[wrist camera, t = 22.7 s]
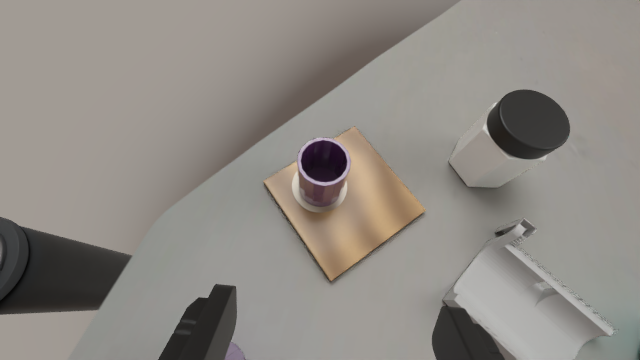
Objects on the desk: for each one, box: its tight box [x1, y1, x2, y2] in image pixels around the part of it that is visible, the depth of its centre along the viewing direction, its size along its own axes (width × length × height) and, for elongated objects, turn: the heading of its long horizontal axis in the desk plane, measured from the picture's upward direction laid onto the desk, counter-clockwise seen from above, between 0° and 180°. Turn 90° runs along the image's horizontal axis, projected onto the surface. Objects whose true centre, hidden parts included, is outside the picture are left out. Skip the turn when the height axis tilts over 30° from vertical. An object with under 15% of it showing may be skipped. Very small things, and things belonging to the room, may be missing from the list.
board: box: [263, 126, 426, 282], centre depth 41 cm, size 16×16×1 cm
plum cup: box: [297, 137, 351, 207], centre depth 37 cm, size 6×6×8 cm
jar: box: [449, 90, 570, 188], centre depth 39 cm, size 9×8×12 cm
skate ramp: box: [443, 218, 619, 360], centre depth 35 cm, size 15×13×5 cm
